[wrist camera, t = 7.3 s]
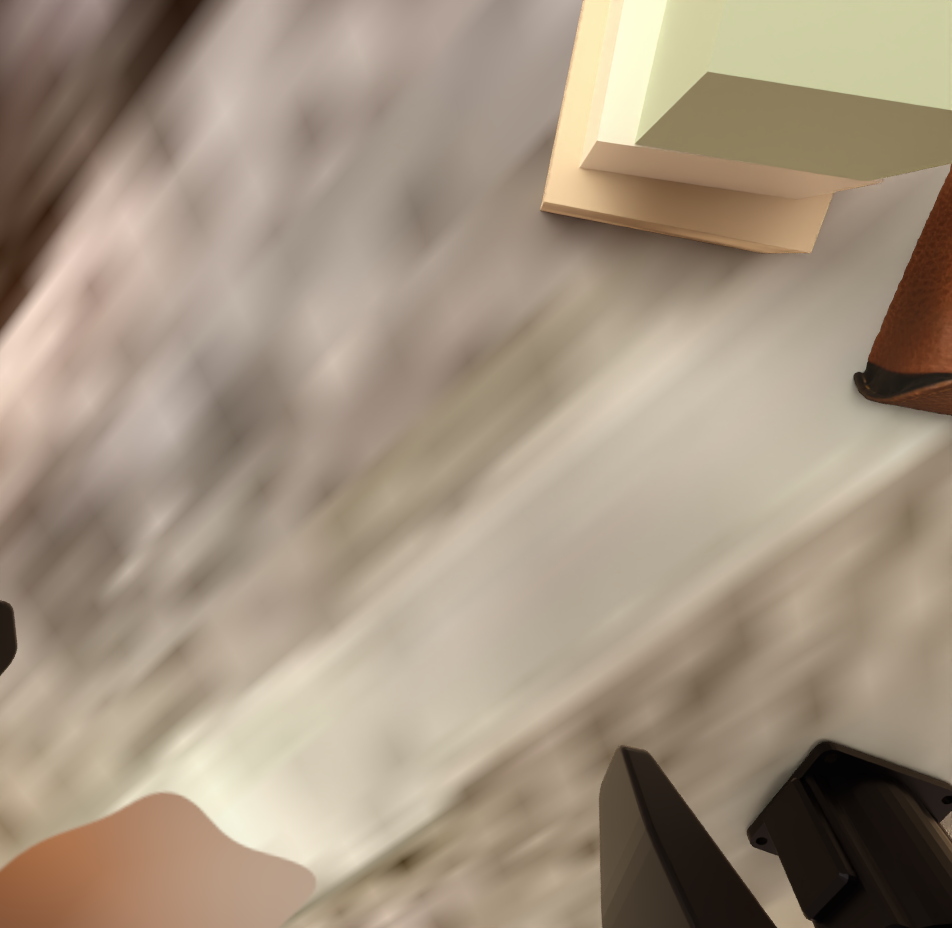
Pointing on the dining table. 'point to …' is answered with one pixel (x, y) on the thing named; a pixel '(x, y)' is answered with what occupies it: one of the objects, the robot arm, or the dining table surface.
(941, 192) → the sunglasses case
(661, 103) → the sage cube
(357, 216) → the dining table surface
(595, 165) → the tower mid
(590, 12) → the tower base
